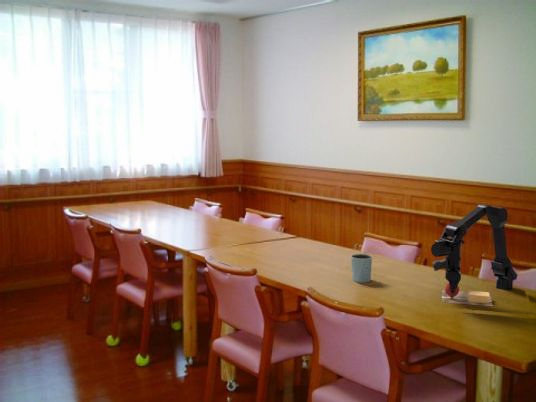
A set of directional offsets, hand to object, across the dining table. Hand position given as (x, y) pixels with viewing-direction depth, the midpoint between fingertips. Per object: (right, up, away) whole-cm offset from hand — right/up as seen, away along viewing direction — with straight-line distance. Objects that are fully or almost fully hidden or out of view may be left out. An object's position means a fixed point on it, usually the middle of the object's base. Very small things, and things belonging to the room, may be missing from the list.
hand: (452, 289), depth 252 cm
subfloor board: (+6, -5, +1) cm, 8 cm away
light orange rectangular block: (+10, -4, -3) cm, 11 cm away
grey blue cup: (-34, -1, +34) cm, 48 cm away
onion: (0, -4, +1) cm, 4 cm away
